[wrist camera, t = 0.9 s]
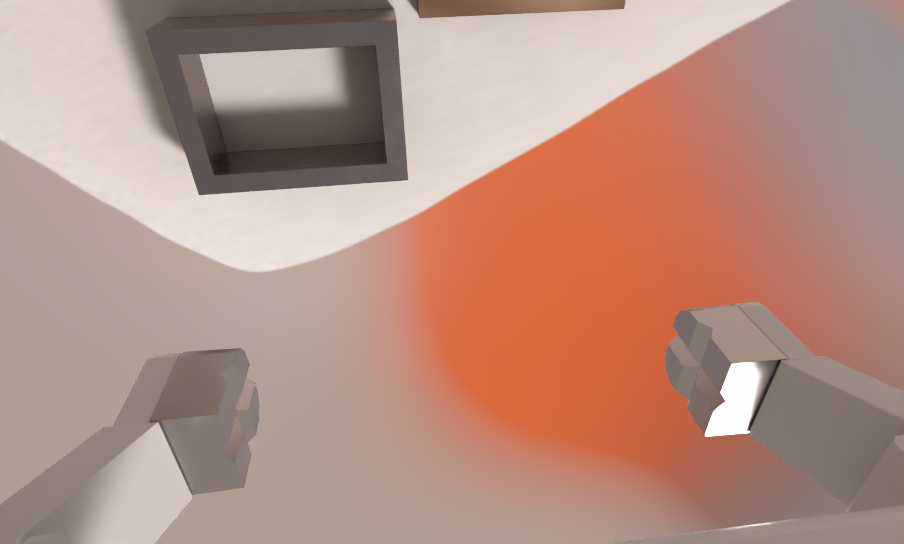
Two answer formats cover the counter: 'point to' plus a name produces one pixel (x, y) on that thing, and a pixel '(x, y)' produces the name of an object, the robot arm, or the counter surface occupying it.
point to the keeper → (509, 7)
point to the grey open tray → (192, 36)
